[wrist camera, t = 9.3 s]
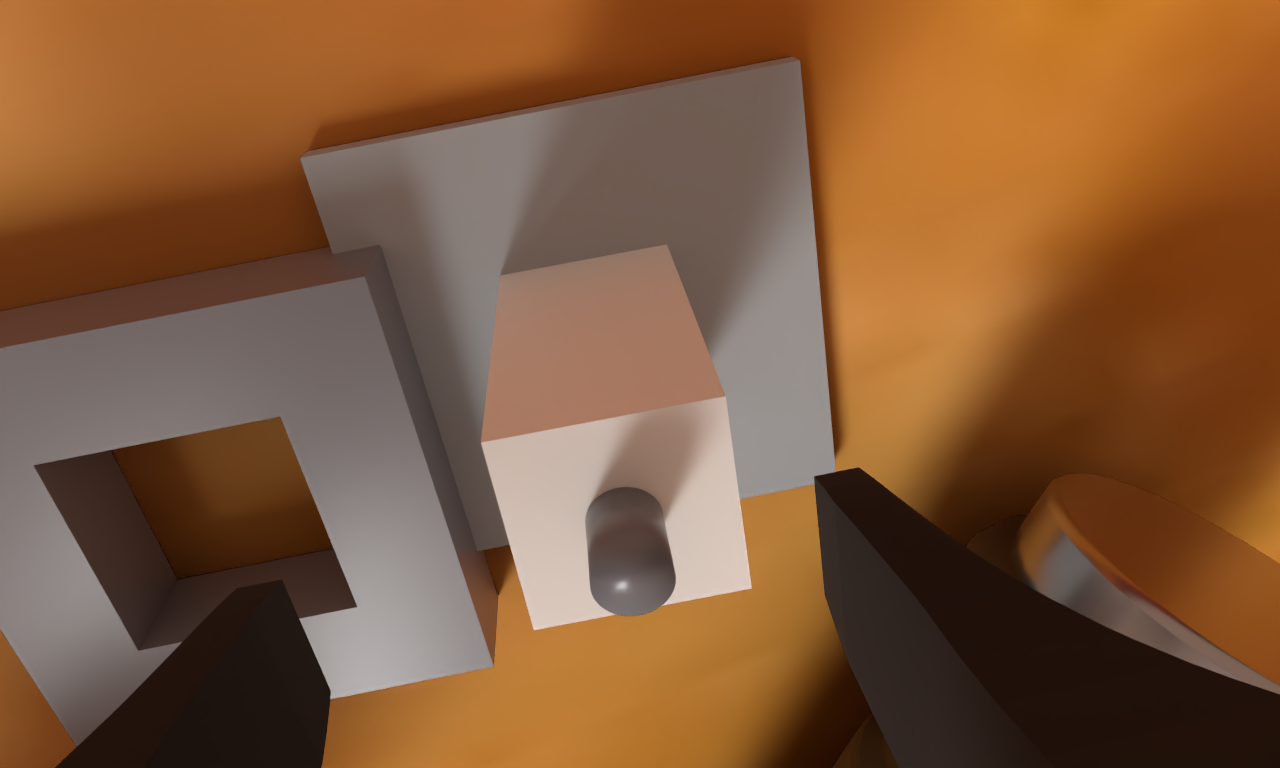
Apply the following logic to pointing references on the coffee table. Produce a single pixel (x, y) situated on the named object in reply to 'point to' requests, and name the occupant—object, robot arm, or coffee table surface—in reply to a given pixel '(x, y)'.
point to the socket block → (212, 399)
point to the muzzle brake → (1133, 582)
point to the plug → (610, 441)
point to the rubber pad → (607, 246)
